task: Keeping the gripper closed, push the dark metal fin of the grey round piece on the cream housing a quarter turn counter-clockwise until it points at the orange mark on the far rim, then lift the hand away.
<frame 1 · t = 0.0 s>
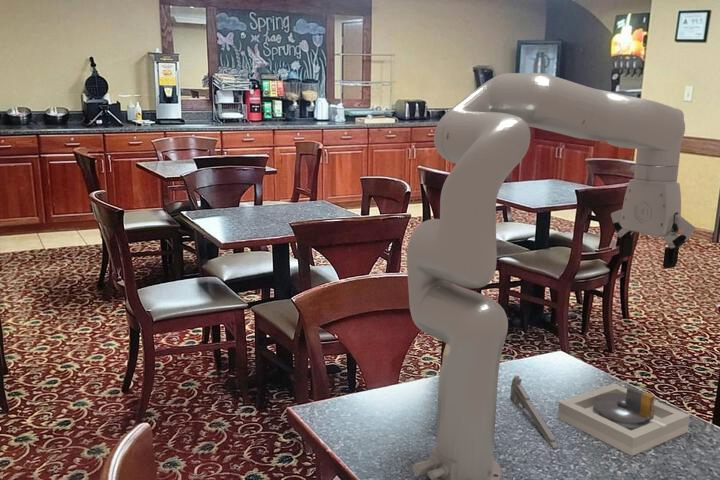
hand: (646, 262, 134), 31 cm above the table, fingers open, 9 cm apart
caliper: (532, 424, 136), on the table
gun: (449, 409, 141), on the table
grey round piece: (624, 401, 134), point 5 cm above the table, hinge at 0.0°
housing: (621, 425, 135), on the table
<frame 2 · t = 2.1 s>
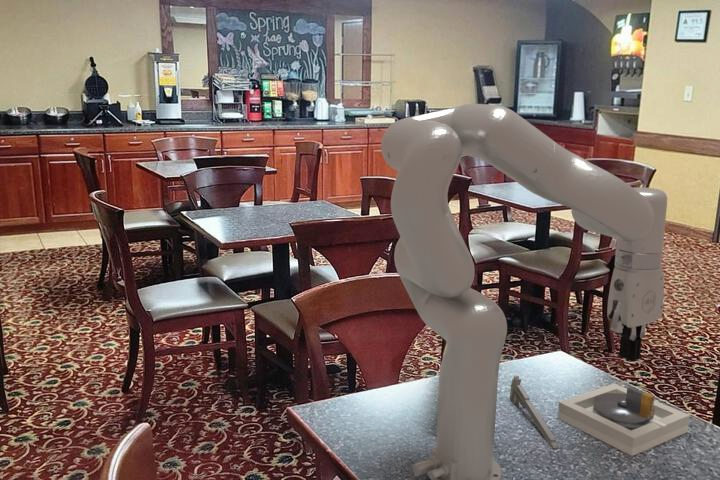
hand: (629, 357, 124), 17 cm above the table, fingers closed
nothing on the table moved.
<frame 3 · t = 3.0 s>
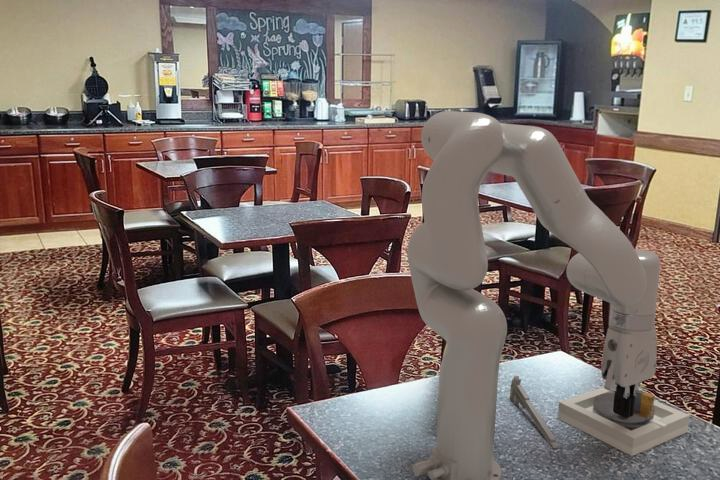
hand: (623, 414, 127), 6 cm above the table, fingers closed
nothing on the table moved.
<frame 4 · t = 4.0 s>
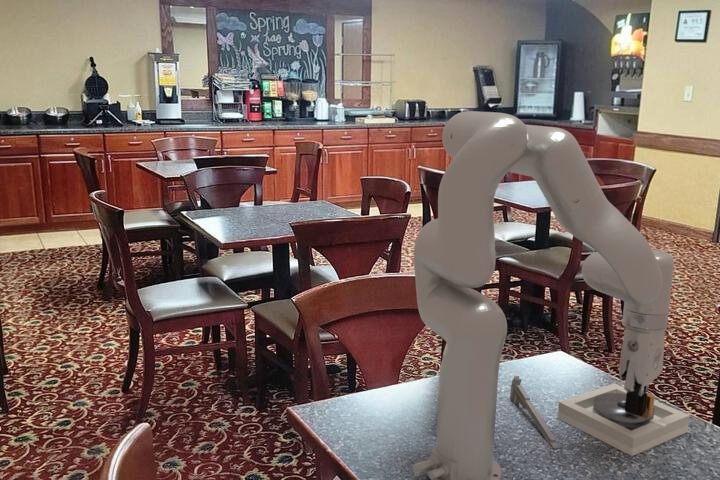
hand: (634, 412, 129), 5 cm above the table, fingers closed
grey round piece: (624, 401, 134), point 5 cm above the table, hinge at 0.2°, touching gripper
everything else where it was.
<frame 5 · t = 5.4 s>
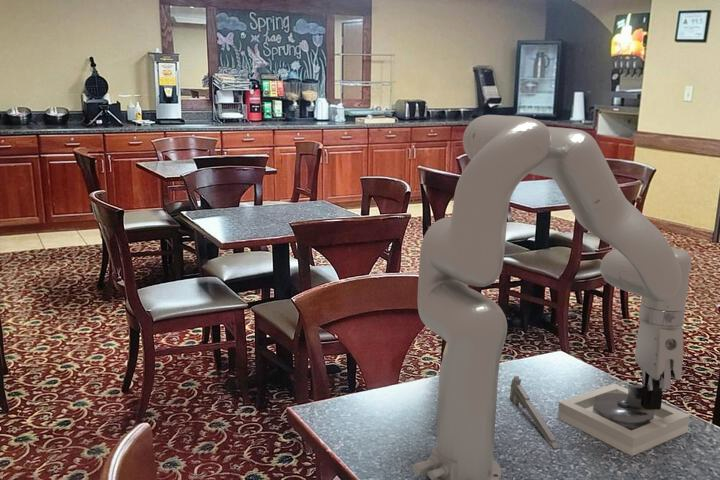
hand: (650, 407, 131), 5 cm above the table, fingers closed
grey round piece: (624, 401, 134), point 5 cm above the table, hinge at 53.5°, touching gripper
everything else where it was.
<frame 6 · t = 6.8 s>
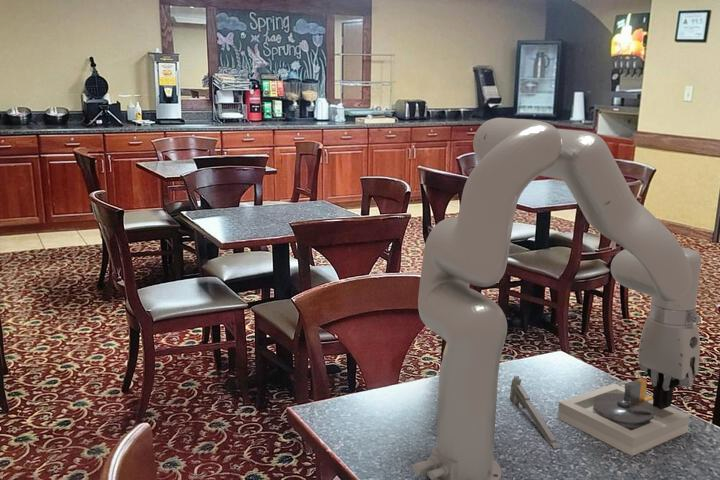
hand: (661, 406, 131), 5 cm above the table, fingers closed
grey round piece: (624, 401, 134), point 5 cm above the table, hinge at 90.5°
everything else where it was.
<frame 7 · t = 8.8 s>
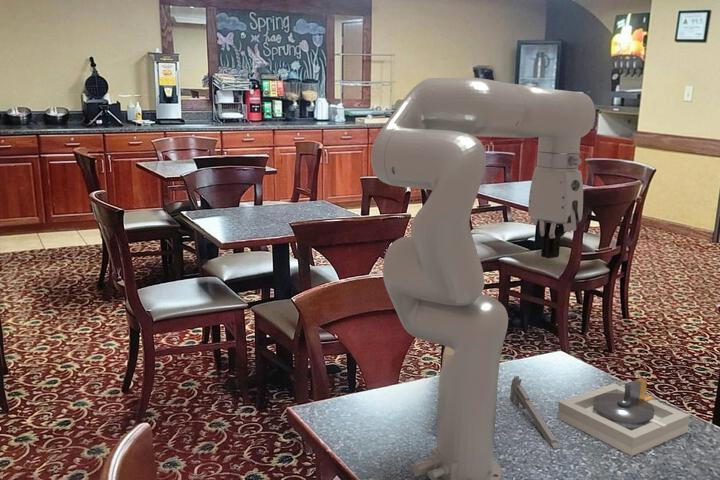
hand: (549, 256, 134), 32 cm above the table, fingers closed
nothing on the table moved.
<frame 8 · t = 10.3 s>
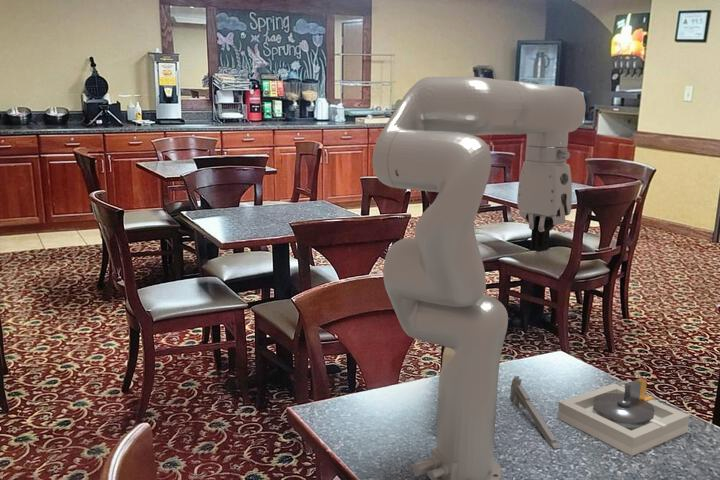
hand: (539, 250, 135), 33 cm above the table, fingers closed
nothing on the table moved.
at the end: grey round piece at +90° (first picture: +0°) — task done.
